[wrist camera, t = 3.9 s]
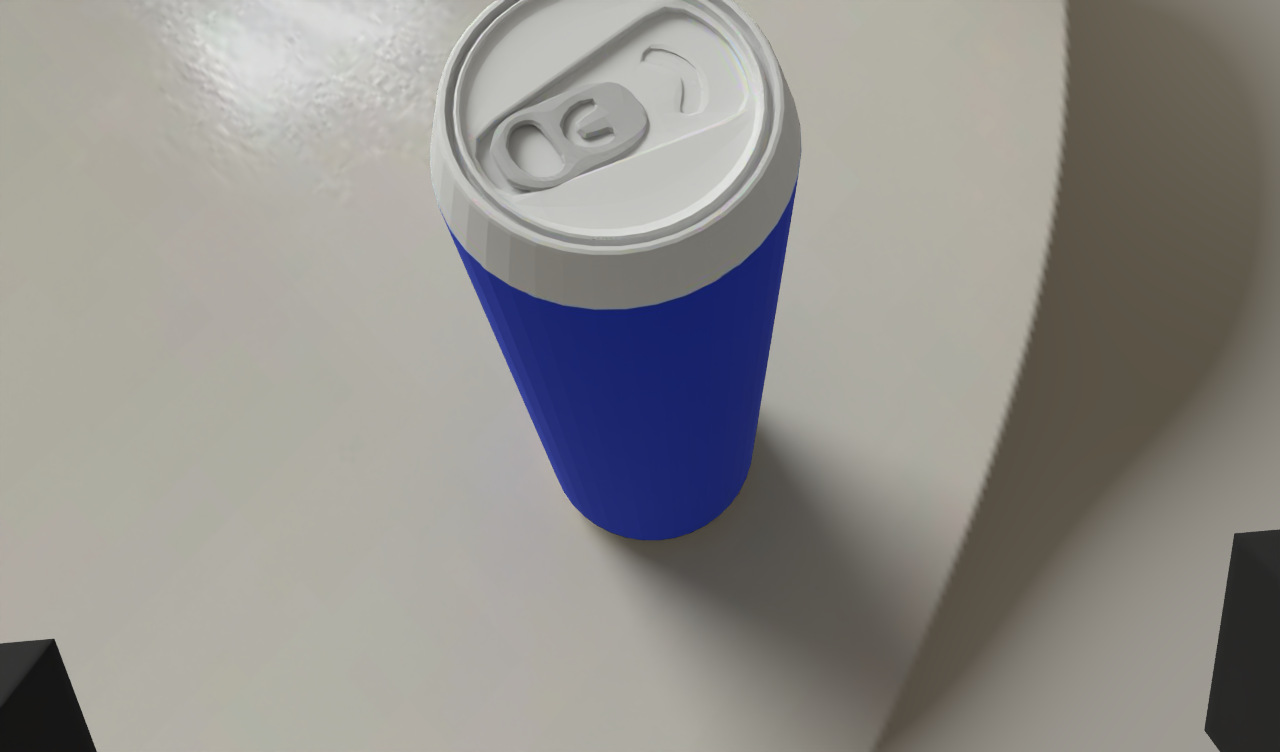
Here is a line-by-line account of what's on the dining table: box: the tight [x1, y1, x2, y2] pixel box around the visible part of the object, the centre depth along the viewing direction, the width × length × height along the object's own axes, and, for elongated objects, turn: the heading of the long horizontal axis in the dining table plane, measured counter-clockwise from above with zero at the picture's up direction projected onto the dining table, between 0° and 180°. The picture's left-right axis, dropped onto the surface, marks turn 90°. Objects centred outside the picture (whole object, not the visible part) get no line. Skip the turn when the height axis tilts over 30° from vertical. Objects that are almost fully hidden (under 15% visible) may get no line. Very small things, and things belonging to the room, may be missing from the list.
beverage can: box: [430, 0, 801, 540], centre depth 21 cm, size 5×5×15 cm
